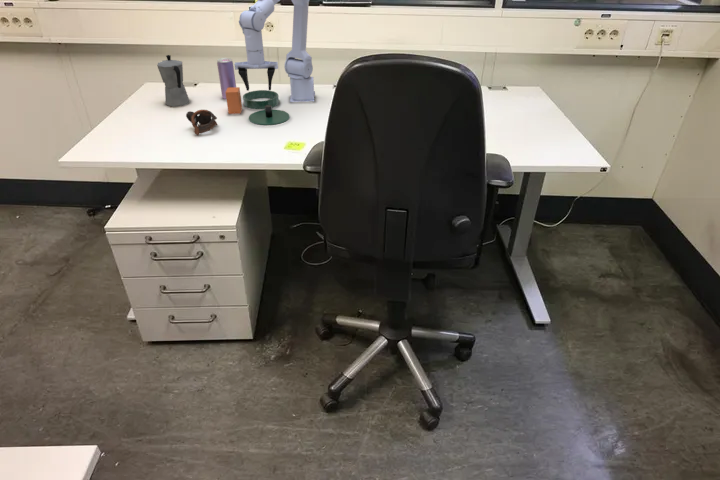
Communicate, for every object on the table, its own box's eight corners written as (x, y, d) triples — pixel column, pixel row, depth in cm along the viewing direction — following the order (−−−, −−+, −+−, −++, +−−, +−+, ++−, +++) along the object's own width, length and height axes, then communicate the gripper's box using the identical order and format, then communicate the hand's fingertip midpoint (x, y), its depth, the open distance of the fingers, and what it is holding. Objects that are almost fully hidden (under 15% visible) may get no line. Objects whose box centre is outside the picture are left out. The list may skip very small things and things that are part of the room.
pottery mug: (225, 127, 175) (221, 112, 168) (211, 147, 171) (207, 132, 164) (194, 115, 176) (189, 99, 169) (180, 134, 172) (174, 119, 165)
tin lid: (290, 111, 187) (289, 99, 184) (289, 126, 175) (288, 112, 172) (251, 112, 186) (249, 99, 183) (247, 127, 174) (245, 113, 171)
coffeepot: (160, 100, 196) (149, 53, 186) (183, 96, 201) (174, 49, 191) (173, 111, 186) (163, 62, 176) (197, 107, 191) (189, 58, 180)
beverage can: (235, 101, 196) (230, 61, 188) (220, 100, 197) (214, 61, 188) (239, 96, 201) (234, 57, 193) (224, 95, 201) (218, 57, 193)
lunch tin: (279, 98, 199) (278, 89, 197) (278, 110, 188) (277, 101, 186) (245, 99, 198) (244, 90, 196) (242, 111, 187) (241, 101, 185)
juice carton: (242, 109, 189) (239, 87, 184) (240, 114, 184) (237, 92, 179) (230, 109, 188) (227, 87, 183) (228, 115, 184) (225, 92, 179)
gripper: (231, 52, 164) (236, 93, 172) (275, 52, 165) (279, 92, 173) (234, 47, 170) (239, 87, 178) (276, 47, 171) (280, 86, 179)
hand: (259, 89), depth 176 cm, fingers open, 7 cm apart
